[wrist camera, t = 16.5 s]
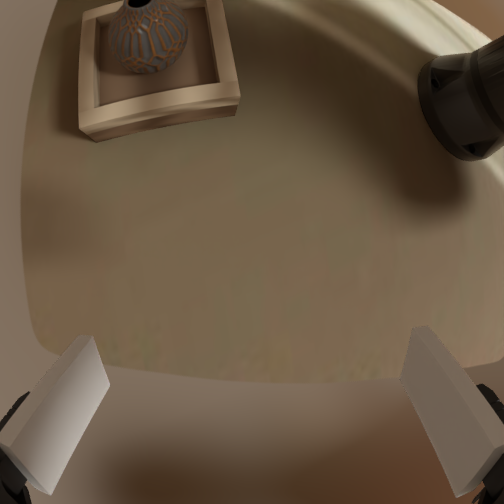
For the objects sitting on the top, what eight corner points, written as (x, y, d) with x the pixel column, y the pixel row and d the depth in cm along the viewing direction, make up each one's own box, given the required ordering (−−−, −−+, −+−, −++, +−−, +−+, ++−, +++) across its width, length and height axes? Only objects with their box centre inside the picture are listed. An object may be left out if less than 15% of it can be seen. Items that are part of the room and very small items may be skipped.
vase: (105, 61, 23) (77, 11, 15) (156, 17, 24) (146, -38, 15) (151, 97, 25) (132, 47, 16) (204, 49, 25) (207, -8, 16)
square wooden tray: (215, 11, 27) (218, -15, 22) (234, 115, 29) (240, 95, 24) (95, 35, 25) (83, 11, 20) (96, 142, 27) (78, 128, 22)
